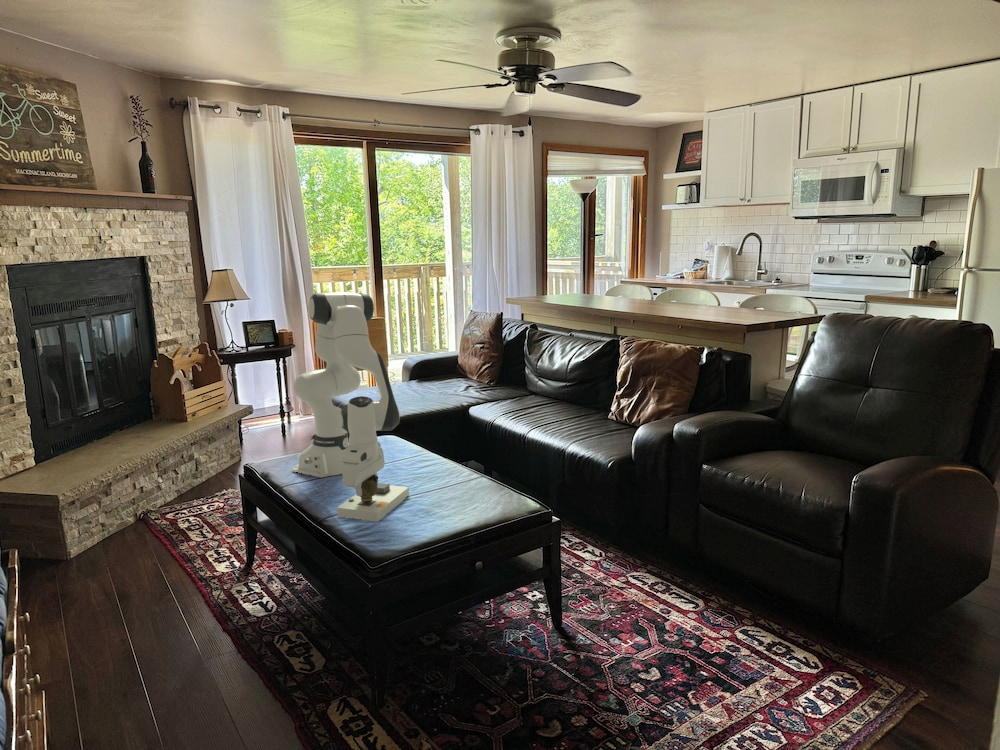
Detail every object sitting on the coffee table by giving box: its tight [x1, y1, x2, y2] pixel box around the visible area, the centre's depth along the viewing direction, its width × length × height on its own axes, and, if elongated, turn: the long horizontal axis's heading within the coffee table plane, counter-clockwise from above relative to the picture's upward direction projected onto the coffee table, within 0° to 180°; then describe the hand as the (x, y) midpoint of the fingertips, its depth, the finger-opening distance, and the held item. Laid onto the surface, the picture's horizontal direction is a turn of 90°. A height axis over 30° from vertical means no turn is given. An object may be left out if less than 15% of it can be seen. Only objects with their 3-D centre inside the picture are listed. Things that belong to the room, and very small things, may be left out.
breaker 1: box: [358, 500, 375, 506], centre depth 209 cm, size 4×4×3 cm
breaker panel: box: [336, 484, 410, 523], centre depth 213 cm, size 14×22×3 cm, turn 162°
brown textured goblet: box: [360, 475, 379, 503], centre depth 208 cm, size 8×7×8 cm
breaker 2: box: [376, 482, 391, 495], centre depth 218 cm, size 4×4×3 cm
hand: (366, 490), depth 208 cm, fingers closed on brown textured goblet, 6 cm apart
